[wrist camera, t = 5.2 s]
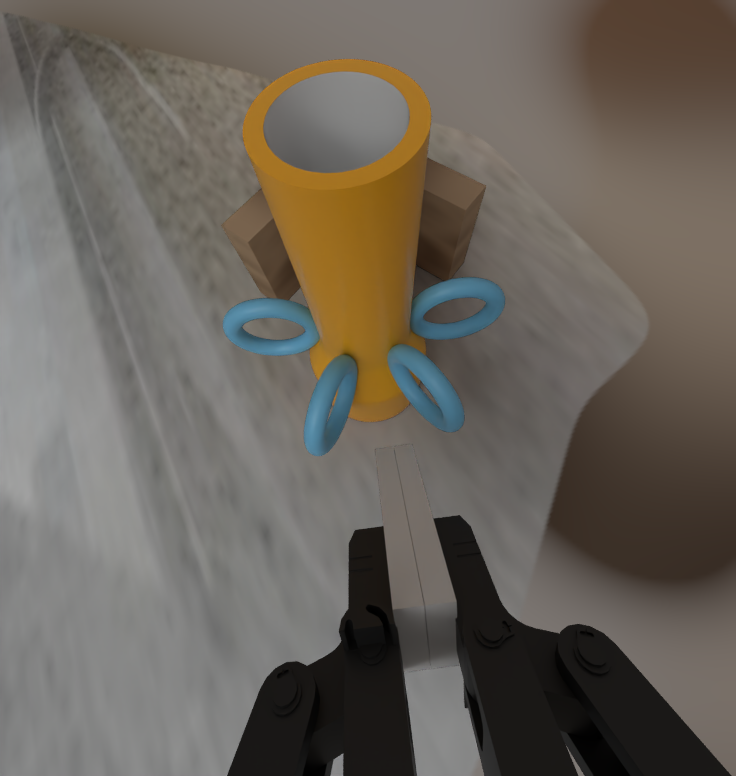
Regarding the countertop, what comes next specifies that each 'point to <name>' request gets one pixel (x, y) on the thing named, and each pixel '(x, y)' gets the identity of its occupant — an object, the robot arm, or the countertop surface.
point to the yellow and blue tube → (354, 244)
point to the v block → (435, 244)
